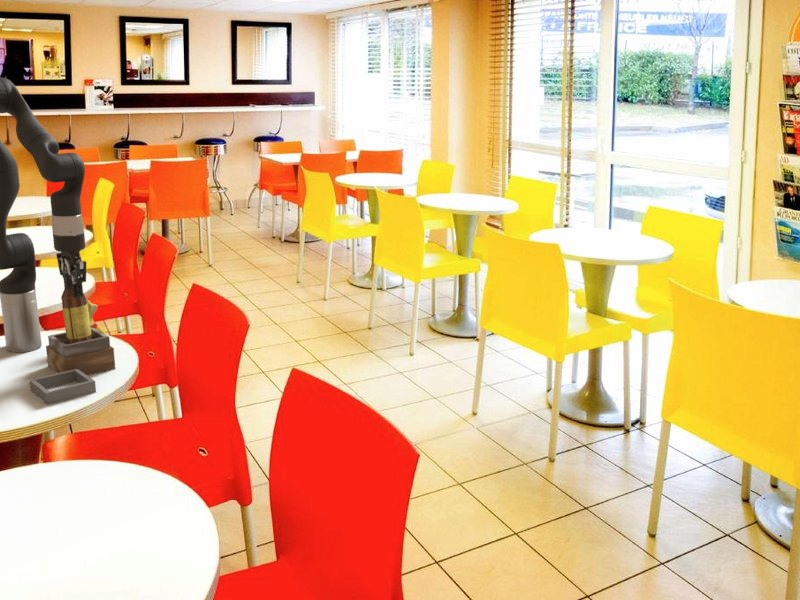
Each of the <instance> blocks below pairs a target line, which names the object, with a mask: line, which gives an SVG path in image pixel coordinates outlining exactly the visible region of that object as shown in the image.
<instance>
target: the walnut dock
mask: <svg viewBox="0 0 800 600" xmlns="http://www.w3.org/2000/svg"><path fill="white" fill-rule="evenodd" d="M105 334H106V333H105ZM105 334H103V333H102V332H100V331H98V330H97V329H95V328H93V327H91V340H87V341H82V342H77V343H73V344H69V343H68V338H67V336H66V331H65V332H61V333H60V332H59V333H56V334H50V335H48V336H47V338H48V344H47V345H45V348H46V351H45V352H46V358H47V359H46V361H47V367H48V368H49V369H51V370H52V371H54V372H55V373H56V372H57V373H61V372H65V371H69V370H74V369H79V370H80V371H81V372H83V373H84V374H86V375H87V376H90V375H95V373H96V374H99V372H100V373H103V372H102V371H104V372H107V370H108V371H112V370H115V369H116V362H115V361H116V360H115V348H114V347H113V346H112V345H111V342H110V339H111V338H110V336H109V335H107V334H106V335H105ZM111 369H112V370H111ZM57 373H56V374H57Z"/></svg>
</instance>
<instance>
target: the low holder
mask: <svg viewBox="0 0 800 600" xmlns="http://www.w3.org/2000/svg"><path fill="white" fill-rule="evenodd" d="M72 383H75V384H72ZM66 384H71V385H67V386H63V385H66ZM59 386H63V387H59ZM96 386H97V385H96V380H94V378H91V377H90V375H88V376H87V375H86V374H84V373H83V372H81V371H80V370H79V369H74V370H69V371H65V372H61V373H53V374H49V375H44V376H41V377H37V378H33V379H29V389H30V392H31V393H33V394H34V395H35V396H36V397H37V398H39V400H41V402H43V403H45V404H46V405H53V404H55V403H60V402H63V401H64V402H65V401H68V400H71V399H74V398H75V399H76V398H78V397H82V396H83V397H84V396H86V395H90V394H94V393H97V387H96ZM55 387H59V388H56V389H52V390H48V389H50V388H55Z"/></svg>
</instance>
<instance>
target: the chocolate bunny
mask: <svg viewBox="0 0 800 600" xmlns="http://www.w3.org/2000/svg"><path fill="white" fill-rule="evenodd" d="M87 305H88V312H89V320H90V327H93V328H95V329H97V330H98V331H100V332H102V333H103V334H105V335H107V334H106V332H105V330H104V329H102V328H101V327H100V326H99V325H98V324H97V323H96V322H95V321H94V315H95V313H96V312H97V311H98V305H97V304H95V303H92V302H91V301H90V300H89V299H87Z"/></svg>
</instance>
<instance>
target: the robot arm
mask: <svg viewBox="0 0 800 600" xmlns="http://www.w3.org/2000/svg"><path fill="white" fill-rule="evenodd" d="M6 113H7V114H9V115H10V116H12V117H13V118H14V119H15V120H16V122H15V132H16V133H15V134H16V137H17V139H18V142H19V143H20V144H21V145H22V146H23V148H24V149H25V150H26V151H27V152H28V153H29V155H31V156H32V158H33V160H34V162H35V164H36V166H37V169H38V172H39V174H40V175H41V177H42V178H43V179H44V180H46V181H48V182H49V183H61V182H62V183H63V185H62V188H60V189H58V190H55V191H53V192H52V193H51V194H50V207H51V208H50V209H51V231H52V239H53V248H54V250H55V251H56V252H57V253H56V260H57V265H58V270H59V275H60V276H62V271H64V270H68V273H69V275H70V276H71V278H72V282H73V293H74V297H76V298H78V297H82V296H83V293H84V290H83V289H84V288H83V283H86V282H87V261H86V260H83V259H82V256H81V254H80V252H81V251H83V250H84V249H86V237H85V236H86V235H85V225H84V224H85V223H84V218H83V214H82V204H81V203H82V202H81V195H82V191H83V184H84V178H85V175H86V166H85V162H84V160H83V158H82V157H81V156H80V155H79V154H78V153H76V152H63V153H59V151H60V146H59V142H58V141H57V140H56V139H55V138H54V136H52V135H51V134H50V132H49V131H47V129H46V128H45V127H44V126H43V125H42V124H41V123H40V122H39V120H38V119H37V118H36V116H35V114H34V113H33V111H32V109H31V108H30V106H29V105H28V103H27V102H26V100H25V98H24V97H23V95H22V94H21V92H20V91H19V89H18V88H17V87H16V85H15V84H14V83H13V82H12V81H11V80H10V79H8V78H6V77H0V114H6ZM20 184H21V183H20V176H19V166H18V163H17V160H16V159H15V157H14V155H13V154H12V153H11V151H10V150H9V149H8V148H7V146H6V145H5V144H4V143H3V141H2V139H0V271H1V270H2V271H4V270H9V269H12V271H10V273H9V274H8V275H6V276H5V277H3V278H2V279H1V280H0V305H1V306H0V307H1V314H2V322H3V323H2V324H3V329H4V338H5V339H4V340H5V346H6V347H5V348H6V350H7V351H9V352H12V353H24V352H30V351H34V350H37V349H39V348H41V346H42V344H43V343H42V336H41V327H40V318H39V316H40V315H39V309H38V301H37V300H38V299H37V293H36V281H37V272H36V271H37V270H36V269H37V268H36V266H37V265H36V252H35V246H34V243H33V240H32V239H31V237H30V236H29V235H28V234H26V233H24V232H16V233H11V234H7V221H8V217H9V214H10V211H11V209H12V207H13V206H14V203H15V202H16V201H15V200H16V199H17V197H18V194H19V191H20V187H21V186H20ZM74 270H75V272H73V271H74Z"/></svg>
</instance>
